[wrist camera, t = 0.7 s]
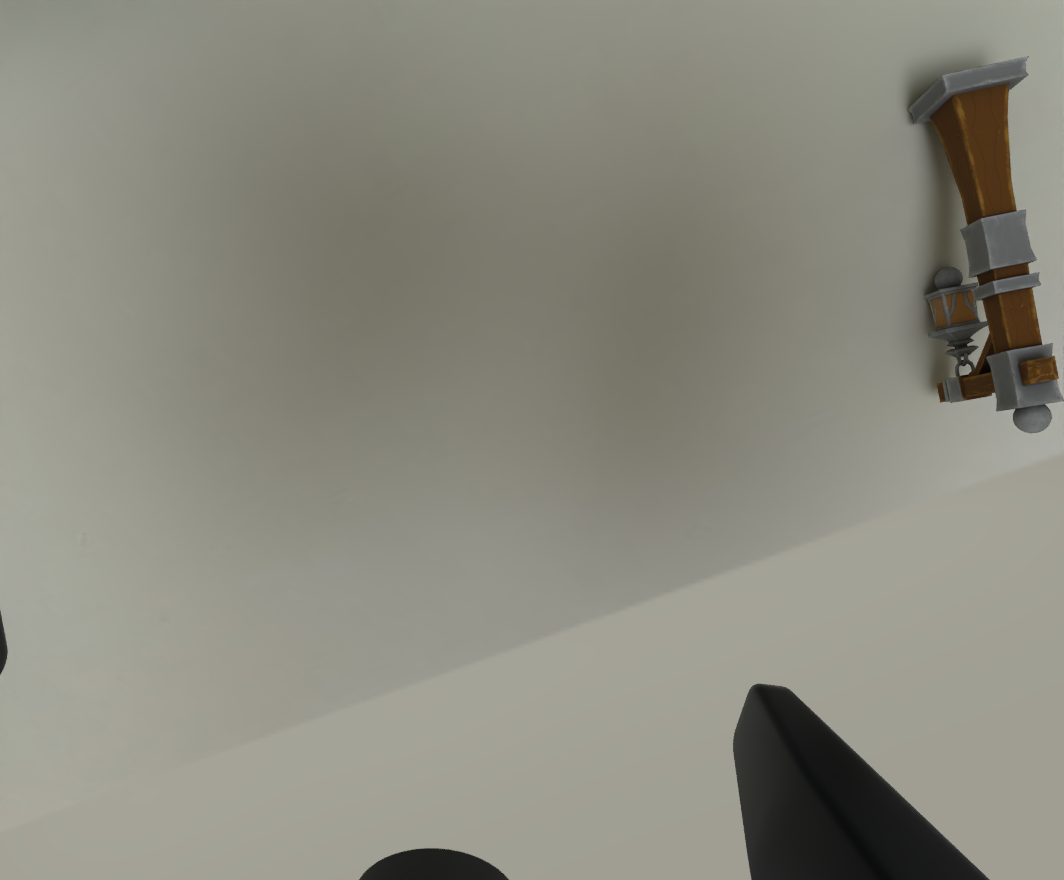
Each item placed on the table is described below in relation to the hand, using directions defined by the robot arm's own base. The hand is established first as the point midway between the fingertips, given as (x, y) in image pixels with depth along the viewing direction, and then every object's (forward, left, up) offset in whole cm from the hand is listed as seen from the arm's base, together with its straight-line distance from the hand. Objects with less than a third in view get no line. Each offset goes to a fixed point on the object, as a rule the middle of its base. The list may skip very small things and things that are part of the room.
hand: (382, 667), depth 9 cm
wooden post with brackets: (+2, -13, -13) cm, 18 cm away
